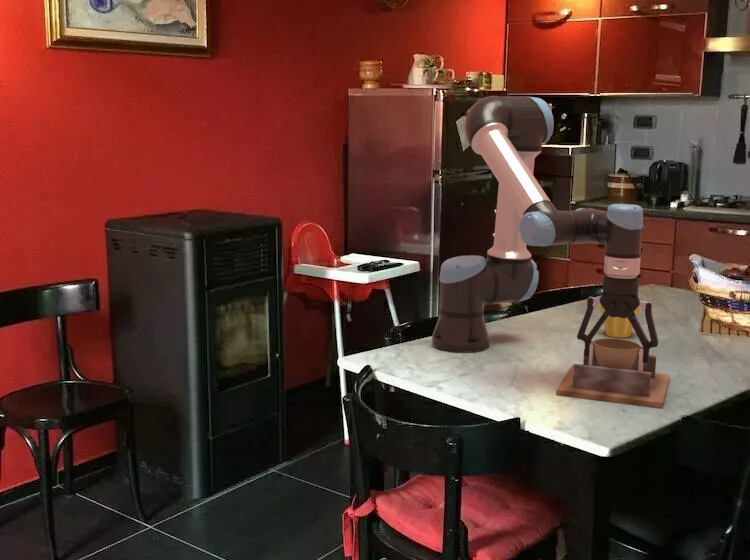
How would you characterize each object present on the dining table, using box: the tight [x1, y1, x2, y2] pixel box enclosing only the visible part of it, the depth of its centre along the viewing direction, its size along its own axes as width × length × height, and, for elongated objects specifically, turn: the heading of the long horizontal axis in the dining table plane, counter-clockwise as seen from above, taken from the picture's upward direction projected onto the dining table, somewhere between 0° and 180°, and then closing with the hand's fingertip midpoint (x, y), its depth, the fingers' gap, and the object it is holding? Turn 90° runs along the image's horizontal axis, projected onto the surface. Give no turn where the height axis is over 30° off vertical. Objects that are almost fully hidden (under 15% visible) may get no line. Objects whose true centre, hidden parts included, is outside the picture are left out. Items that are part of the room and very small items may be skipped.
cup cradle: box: [555, 348, 670, 409], centre depth 191 cm, size 22×22×6 cm
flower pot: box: [594, 337, 641, 370], centre depth 191 cm, size 10×10×7 cm
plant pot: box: [599, 303, 640, 339], centre depth 238 cm, size 10×10×10 cm
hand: (615, 373), depth 191 cm, fingers closed on flower pot, 10 cm apart
